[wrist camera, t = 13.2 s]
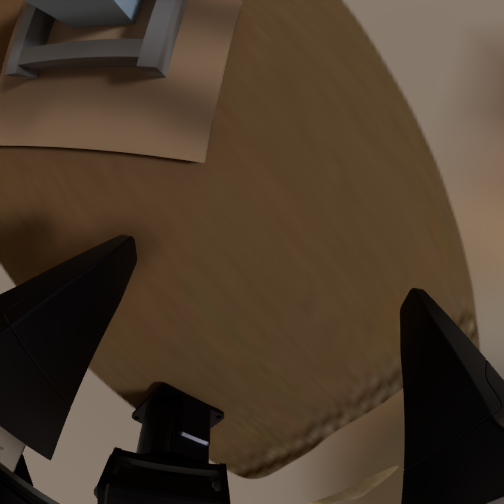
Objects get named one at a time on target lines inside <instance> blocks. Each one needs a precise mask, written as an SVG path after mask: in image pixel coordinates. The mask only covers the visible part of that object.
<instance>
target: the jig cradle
mask: <svg viewBox="0 0 504 504" xmlns="http://www.w3.org/2000/svg"><path fill="white" fill-rule="evenodd" d="M242 3H243V0H143V2H142V4H141V7H140V10H139V13H138V16H137V19H136V22H135V24H120V25H102V26H90V27H80V28H71V27H69V26H68V25H66V24H64V23H63V22H61V21H59V20H58V19H56V18H54V17H53V16H51V15H49V14H47V13H46V12H44V11H42V10H40V9H39V8H37V7H35V6H33V5H31V4H29V3H28V2H26V1H24V4H23V6H22V9H21V11H20V14H19V16H18V19H17V22H16V24H15V27H14V30H13V33H12V36H11V39H10V42H9V46H8V49H7V52H6V56H5V59H4V63H3V67H2V71H1V75H0V145H8V146H47V147H66V148H81V149H94V150H106V151H116V152H126V153H135V154H144V155H152V156H160V157H167V158H174V159H181V160H188V161H194V162H201V163H205V161H206V156H207V150H208V145H209V140H210V135H211V130H212V125H213V121H214V116H215V111H216V106H217V102H218V97H219V93H220V88H221V84H222V80H223V76H224V71H225V67H226V63H227V59H228V55H229V51H230V47H231V43H232V39H233V36H234V32H235V28H236V24H237V21H238V17H239V14H240V10H241V6H242Z"/></svg>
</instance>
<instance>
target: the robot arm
mask: <svg viewBox="0 0 504 504" xmlns="http://www.w3.org/2000/svg"><path fill="white" fill-rule="evenodd" d="M136 262H137V253H136V246H135V240H134V238H133V237H132V236H128V235H120V236H118V237H115V238H113V239H111V240H109V241H107V242H104V243H102V244H100V245H98V246H96V247H94V248H92V249H90V250H87V251H85V252H83V253H81V254H79V255H77V256H75V257H73V258H71V259H69V260H67V261H65V262H63V263H61V264H59V265H57V266H55V267H53V268H51V269H49V270H47V271H45V272H43V273H41V274H39V275H38V276H36V277H34V278H32V279H30V280H28V281H26V282H24V283H22V284H20V285H18V286H16V287H15V288H12V289H10V290H8V291H6V292H4V293H2V294H0V504H59V503H58V502H56V501H54V500H53V499H51V498H49V497H48V496H46V495H45V494H43V493H41V492H40V491H39V490H37V489H35V488H34V487H33V483H32V481H31V478H30V475H29V472H28V469H27V466H26V463H25V459H24V456H23V454H22V453H23V451H24V448H25V446H26V445H27V446H28V447H30V448H31V449H33V450H34V451H36V452H37V453H39V454H41V455H42V456H44V457H45V458H47V459H49V460H51V459H52V456H53V454H54V451H55V448H56V445H57V442H58V439H59V437H60V434H61V431H62V429H63V426H64V424H65V421H66V418H67V416H68V413H69V411H70V408H71V406H72V403H73V401H74V398H75V396H76V394H77V391H78V389H79V386H80V384H81V382H82V380H83V377H84V375H85V373H86V371H87V369H88V366H89V364H90V362H91V360H92V358H93V356H94V354H95V351H96V349H97V347H98V345H99V343H100V341H101V339H102V337H103V335H104V333H105V331H106V329H107V327H108V325H109V323H110V321H111V319H112V317H113V315H114V313H115V311H116V309H117V307H118V305H119V303H120V301H121V299H122V297H123V294H124V292H125V289H126V287H127V284H128V282H129V280H130V277H131V275H132V272H133V270H134V268H135V265H136ZM400 348H401V364H402V376H403V392H404V416H405V452H404V454H405V455H404V475H403V489H402V501H401V504H504V380H503V379H502V378H501V376H500V375H499V374H498V373H497V372H496V370H495V369H494V368H493V367H492V366H491V364H490V363H489V362H488V361H487V360H486V358H485V357H484V356H483V355H482V353H481V352H480V351H479V350H478V349H477V348H476V346H475V345H474V344H473V343H472V342H471V341H470V339H469V338H468V337H467V336H466V335H465V334H464V333H463V331H462V330H461V329H460V328H459V327H458V326H457V325H456V324H455V322H454V321H453V320H452V319H451V318H450V317H449V316H448V315H447V314H446V313H445V312H444V311H443V309H442V308H441V307H440V306H439V305H438V304H437V303H436V302H435V301H434V300H433V299H432V298H431V297H430V296H429V295H428V294H427V293H426V292H425V291H424V290H423V289H418V288H412V289H411V290H410V291H409V293H408V295H407V297H406V298H405V300H404V302H403V304H402V306H401V309H400ZM165 389H166V390H165ZM132 418H133V419H134V420H136V421H138V422H140V423H142V428H141V432H140V437H139V442H138V447H137V451H136V453H133V452H129V451H125V450H122V449H121V448H117V447H115V448H114V450H113V452H112V454H111V455H110V456H109V459H108V461H107V463H106V466H105V468H104V470H103V473H102V475H101V477H100V480H99V482H98V484H97V486H96V487H95V489H94V495H95V496H96V498H97V499H98V504H230V495H229V487H228V478H227V469H226V464H221V463H219V464H209V445H210V428H212V427H213V426H214V425H216V424H217V423H218V422H220V421H221V420H222V419H224V412H223V411H221V410H218V409H216V408H214V407H212V406H210V405H208V404H205V403H203V402H201V401H199V400H197V399H195V398H193V397H191V396H189V395H187V394H185V393H183V392H181V391H179V390H177V389H175V388H173V387H171V386H169V385H168V384H164V383H163V384H160V385H159V386H158V387H157V388H156V389H155V390H154V391H153V392H152V393H151V394H150V395H149V396H148V397H147V398H146V399H145V401H144V402H143V403H142V404H141V405H140V406H139V407H138V408H137V409H136V410H135V411H134V412H133V414H132Z"/></svg>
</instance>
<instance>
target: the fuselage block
mask: <svg viewBox="0 0 504 504" xmlns="http://www.w3.org/2000/svg"><path fill="white" fill-rule="evenodd" d="M24 1H26V2H28V3H29V4H31V5H33V6H35V7H37V8H39V9H40V10H42V11H44V12H46V13H47V14H49V15H51V16H53V17H54V18H56V19H58V20H59V21H61V22H63V23H64V24H66V25H68V26H69V27H71V28H80V27H90V26H102V25H120V24H135V22H136V19H137V16H138V13H139V10H140V7H141V4H142V2H143V0H24Z"/></svg>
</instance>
